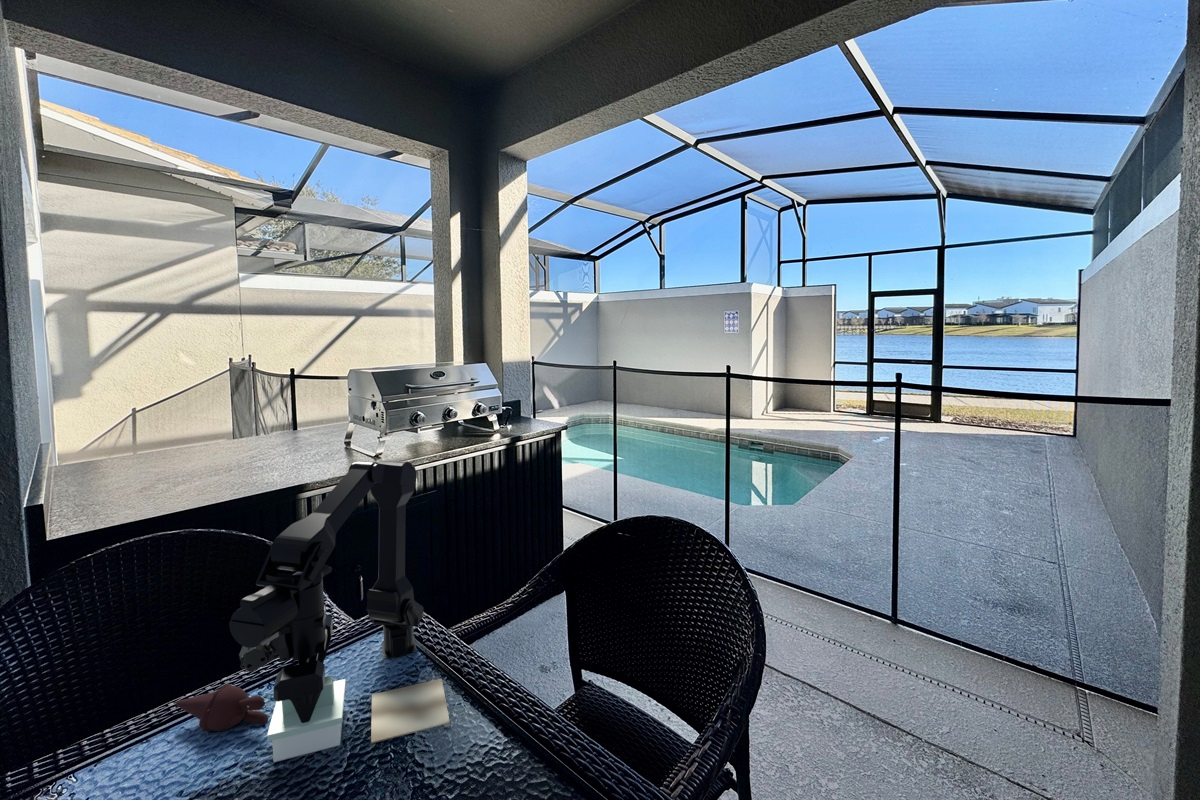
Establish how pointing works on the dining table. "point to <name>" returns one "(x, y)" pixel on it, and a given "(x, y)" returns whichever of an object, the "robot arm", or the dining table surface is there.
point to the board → (408, 710)
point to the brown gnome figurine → (224, 708)
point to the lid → (323, 715)
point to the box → (306, 742)
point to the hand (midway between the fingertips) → (309, 702)
